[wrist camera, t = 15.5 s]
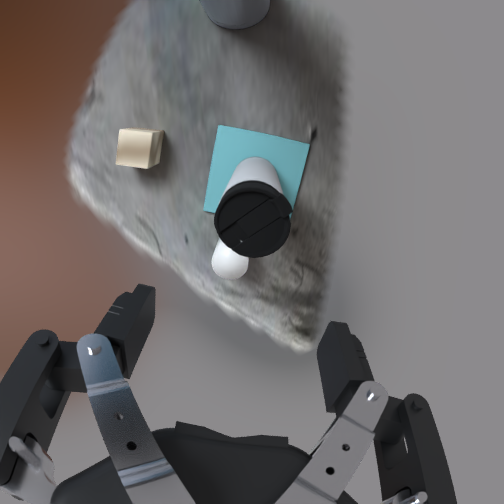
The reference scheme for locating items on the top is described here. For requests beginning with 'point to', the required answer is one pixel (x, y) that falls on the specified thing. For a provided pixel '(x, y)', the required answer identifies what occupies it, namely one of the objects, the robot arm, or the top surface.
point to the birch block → (139, 147)
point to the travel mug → (253, 210)
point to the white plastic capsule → (228, 262)
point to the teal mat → (254, 145)
